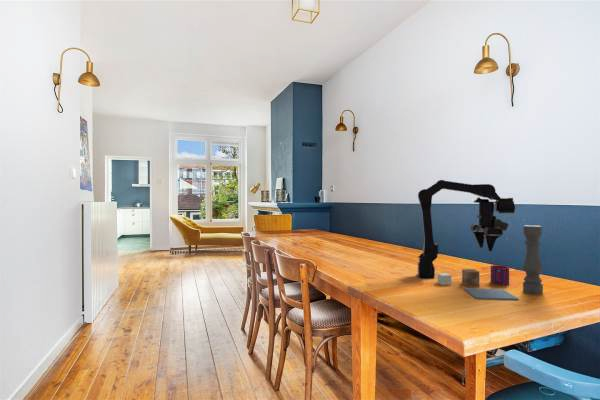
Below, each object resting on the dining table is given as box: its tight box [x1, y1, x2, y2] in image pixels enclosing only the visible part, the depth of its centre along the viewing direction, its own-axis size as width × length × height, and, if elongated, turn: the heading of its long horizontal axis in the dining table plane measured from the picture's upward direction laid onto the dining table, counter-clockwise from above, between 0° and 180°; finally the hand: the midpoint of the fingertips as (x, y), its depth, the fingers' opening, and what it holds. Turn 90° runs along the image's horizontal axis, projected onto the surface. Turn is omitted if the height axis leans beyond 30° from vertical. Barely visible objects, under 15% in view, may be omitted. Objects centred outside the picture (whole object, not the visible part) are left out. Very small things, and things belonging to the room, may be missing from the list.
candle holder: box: [522, 224, 544, 296], centre depth 128 cm, size 6×6×25 cm
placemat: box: [463, 287, 519, 301], centre depth 125 cm, size 14×12×1 cm
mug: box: [490, 264, 510, 286], centre depth 141 cm, size 7×10×7 cm
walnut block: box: [461, 268, 480, 288], centre depth 139 cm, size 5×5×6 cm
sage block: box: [437, 272, 452, 286], centre depth 142 cm, size 4×4×4 cm
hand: (485, 249), depth 147 cm, fingers open, 9 cm apart
